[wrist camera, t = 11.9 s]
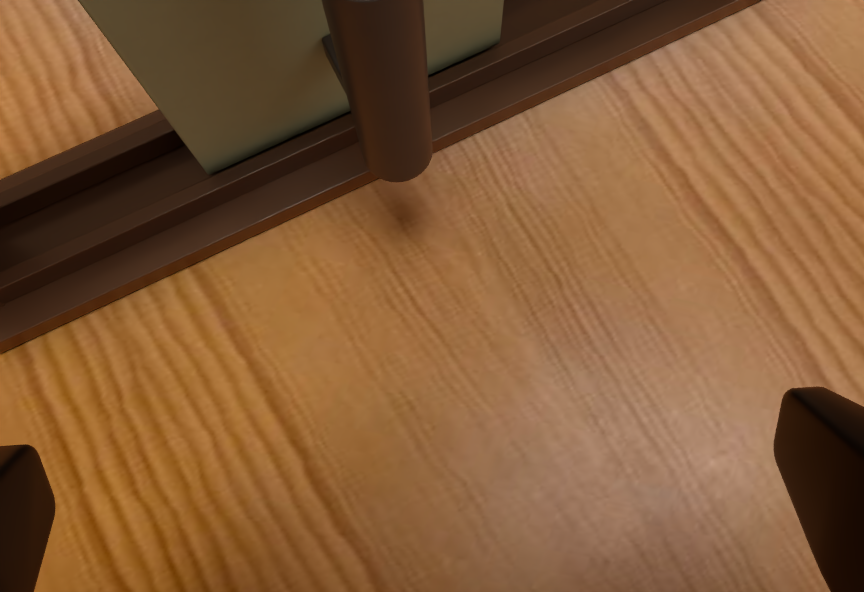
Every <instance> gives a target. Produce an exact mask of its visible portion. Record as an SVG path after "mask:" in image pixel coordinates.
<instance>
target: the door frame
mask: <svg viewBox="0 0 864 592" xmlns="http://www.w3.org/2000/svg"><path fill="white" fill-rule="evenodd" d="M759 1H761V0H504V3H503V14H502V24H501V35H500V43H499V44H497V45H495V46H492V47H490V48H488V49H486V50H484V51H481V52H479V53H477V54H475V55H473V56H470V57H468V58H466V59H464V60H462V61H459V62H457V63H455V64H453V65H451V66H448V67H446V68H444V69H442V70H440V71H437V72H435V73H433V74H431V75H429V76H428V82H429V98H430V114H431V130H432V146H433V151H432V153H434V152H436V151H438V150H440V149H442V148H444V147H446V146H449V145H451V144H453V143H455V142H457V141H459V140H462V139H464V138H466V137H468V136H470V135H472V134H474V133H477V132H479V131H481V130H483V129H485V128H487V127H490V126H492V125H494V124H496V123H498V122H500V121H502V120H505V119H507V118H509V117H511V116H513V115H515V114H518V113H520V112H522V111H524V110H526V109H528V108H530V107H533V106H535V105H537V104H539V103H541V102H543V101H546V100H548V99H550V98H552V97H554V96H556V95H558V94H561V93H563V92H565V91H567V90H569V89H571V88H574V87H576V86H578V85H580V84H582V83H584V82H586V81H589V80H591V79H593V78H595V77H597V76H599V75H602V74H604V73H606V72H608V71H610V70H612V69H614V68H617V67H619V66H621V65H623V64H625V63H627V62H630V61H632V60H634V59H636V58H638V57H640V56H642V55H645V54H647V53H649V52H651V51H653V50H655V49H658V48H660V47H662V46H664V45H666V44H668V43H670V42H673V41H675V40H677V39H679V38H681V37H683V36H686V35H688V34H690V33H692V32H694V31H696V30H698V29H701V28H703V27H705V26H707V25H709V24H711V23H714V22H716V21H718V20H720V19H722V18H724V17H726V16H729V15H731V14H733V13H735V12H737V11H739V10H742V9H744V8H746V7H748V6H750V5H752V4H754V3H757V2H759ZM375 179H378V177H377V176H375V175H374V174H373V173H372V172H371V171H370V170H369V169H368V168H367V166H366V164H365V162H364V159H363V156H362V152H361V148H360V144H359V141H358V137H357V133H356V129H355V125H354V122H353V118H352V114H351V111H349V112H347V113H345V114H343V115H340V116H338V117H336V118H334V119H332V120H329V121H327V122H325V123H323V124H321V125H318V126H316V127H314V128H312V129H310V130H307V131H305V132H303V133H301V134H299V135H296V136H294V137H292V138H290V139H288V140H285V141H283V142H281V143H279V144H277V145H274V146H272V147H270V148H268V149H266V150H263V151H261V152H259V153H257V154H255V155H252V156H250V157H248V158H246V159H244V160H241V161H239V162H237V163H235V164H233V165H230V166H228V167H226V168H224V169H222V170H219V171H217V172H215V173H213V174H211V175H208V174H207V173H206V171H205V170H204V169H203V167H202V166H201V165H200V163H199V162H198V161H197V159H196V158H195V157H194V155H193V154H192V153H191V151H190V150H189V149H188V147H187V146H186V145H185V143H184V142H183V140H182V139H181V138H180V136H179V135H178V134H177V132H176V131H175V130H174V128H173V127H172V126H171V124H170V123H169V122H168V120H167V119H166V118H165V116H164V115H163V114H162V112H161V111H160V110H157V111H154V112H152V113H150V114H148V115H145V116H143V117H141V118H139V119H136V120H134V121H132V122H130V123H127V124H125V125H123V126H121V127H118V128H116V129H114V130H112V131H109V132H107V133H105V134H103V135H100V136H98V137H96V138H94V139H91V140H89V141H87V142H85V143H82V144H80V145H78V146H75V147H73V148H71V149H69V150H66V151H64V152H62V153H60V154H57V155H55V156H53V157H51V158H48V159H46V160H44V161H42V162H39V163H37V164H35V165H33V166H30V167H28V168H26V169H24V170H21V171H19V172H17V173H15V174H12V175H10V176H8V177H6V178H3V179H1V180H0V354H1V353H3V352H5V351H7V350H9V349H11V348H13V347H16V346H18V345H20V344H22V343H24V342H26V341H29V340H31V339H33V338H35V337H37V336H39V335H41V334H44V333H46V332H48V331H50V330H52V329H54V328H57V327H59V326H61V325H63V324H65V323H67V322H69V321H72V320H74V319H76V318H78V317H80V316H82V315H85V314H87V313H89V312H91V311H93V310H95V309H97V308H100V307H102V306H104V305H106V304H108V303H110V302H113V301H115V300H117V299H119V298H121V297H123V296H125V295H128V294H130V293H132V292H134V291H136V290H138V289H141V288H143V287H145V286H147V285H149V284H151V283H153V282H156V281H158V280H160V279H162V278H164V277H166V276H169V275H171V274H173V273H175V272H177V271H179V270H181V269H184V268H186V267H188V266H190V265H192V264H194V263H197V262H199V261H201V260H203V259H205V258H207V257H210V256H212V255H214V254H216V253H218V252H220V251H222V250H225V249H227V248H229V247H231V246H233V245H235V244H238V243H240V242H242V241H244V240H246V239H248V238H250V237H253V236H255V235H257V234H259V233H261V232H263V231H266V230H268V229H270V228H272V227H274V226H276V225H278V224H281V223H283V222H285V221H287V220H289V219H291V218H294V217H296V216H298V215H300V214H302V213H304V212H306V211H309V210H311V209H313V208H315V207H317V206H319V205H322V204H324V203H326V202H328V201H330V200H332V199H334V198H337V197H339V196H341V195H343V194H345V193H347V192H350V191H352V190H354V189H356V188H358V187H360V186H362V185H365V184H367V183H369V182H371V181H373V180H375Z"/></svg>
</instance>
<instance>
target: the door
mask: <svg viewBox="0 0 864 592" xmlns="http://www.w3.org/2000/svg"><path fill="white" fill-rule="evenodd" d="M78 1H79V2H80V4H81V5H82V6H83V8H84V9H85V10H86V12H87V13H88V14H89V16H90V17H91V18H92V20H93V21H94V22H95V24H96V25H97V26H98V28H99V29H100V30H101V32H102V33H103V34H104V36H105V37H106V38H107V40H108V41H109V42H110V44H111V45H112V47H113V48H114V49H115V51H116V52H117V53H118V55H119V56H120V57H121V59H122V60H123V61H124V63H125V64H126V65H127V67H128V68H129V69H130V71H131V72H132V73H133V75H134V76H135V77H136V79H137V80H138V81H139V83H140V84H141V85H142V87H143V88H144V89H145V91H146V92H147V94H148V95H149V96H150V98H151V99H152V100H153V102H154V103H155V104H156V106H157V107H158V108H159V110H160V111H161V112H162V114H163V115H164V116H165V118H166V119H167V120H168V122H169V123H170V124H171V126H172V127H173V128H174V130H175V131H176V132H177V134H178V135H179V136H180V138H181V139H182V140H183V142H184V143H185V145H186V146H187V147H188V149H189V150H190V151H191V153H192V154H193V155H194V157H195V158H196V159H197V161H198V162H199V163H200V165H201V166H202V167H203V169H204V170H205V171H206V173H207V174H208V175H211V174H213V173H215V172H217V171H219V170H222V169H224V168H226V167H228V166H230V165H233V164H235V163H237V162H239V161H241V160H244V159H246V158H248V157H250V156H252V155H255V154H257V153H259V152H261V151H263V150H266V149H268V148H270V147H272V146H274V145H277V144H279V143H281V142H283V141H285V140H288V139H290V138H292V137H294V136H296V135H299V134H301V133H303V132H305V131H307V130H310V129H312V128H314V127H316V126H318V125H321V124H323V123H325V122H327V121H329V120H332V119H334V118H336V117H338V116H340V115H343V114H345V113H347V112H349V111H351V114H352V118H353V122H354V125H355V129H356V133H357V137H358V141H359V144H360V148H361V152H362V156H363V159H364V162H365V164H366V166H367V168H368V169H369V170H370V171H371V172H372V173H373V174H374V175H375V176H377V177H378V178H380V179H383V180H385V181H389V182H404V181H408V180H410V179H413V178H415V177H417V176H418V175H419V174H421V173H422V172H423V171H424V170H425V169H426V167H427V166H428V164H429V162H430V160H431V157H432V151H433V146H432V130H431V114H430V98H429V82H428V76H429V75H431V74H433V73H435V72H437V71H440V70H442V69H444V68H446V67H448V66H451V65H453V64H455V63H457V62H459V61H462V60H464V59H466V58H468V57H470V56H473V55H475V54H477V53H479V52H481V51H484V50H486V49H488V48H490V47H492V46H495V45H497V44H499V43H500V35H501V24H502V14H503V3H504V0H78Z"/></svg>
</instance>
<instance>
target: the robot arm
mask: <svg viewBox="0 0 864 592" xmlns="http://www.w3.org/2000/svg"><path fill="white" fill-rule="evenodd" d="M774 456H775V460H776V463H777V466H778V468H779V471H780V473H781V476H782V478H783V481H784V483H785V486H786V488H787V491H788V493H789V496H790V498H791V501H792V503H793V506H794V508H795V511H796V513H797V516H798V518H799V521H800V523H801V526H802V528H803V531H804V533H805V536H806V538H807V541H808V543H809V545H810V548H811V550H812V553H813V555H814V558H815V560H816V562H817V564H818V567H819V569H820V571H821V574H822V576H823V577H824V579H825V581H826V583H827V585H828V587H829V589H830V591H831V592H864V407H863V406H861V405H859V404H857V403H855V402H853V401H851V400H849V399H847V398H844V397H842V396H840V395H838V394H836V393H834V392H832V391H830V390H828V389H826V388H824V387H805V388H792V389H790V390H788V391H787V392H786V393H785V394H784V396H783V399H782V402H781V408H780V413H779V418H778V423H777V428H776V433H775V439H774ZM54 515H55V499H54V495H53V492H52V489H51V486H50V484H49V481H48V478H47V476H46V473H45V470H44V467H43V465H42V462H41V459H40V457H39V454H38V452H37V451H36V450H35V448H34V447H32V446H30V445H26V444H25V445H11V446H0V592H34V589H35V586H36V582H37V578H38V575H39V571H40V567H41V564H42V560H43V556H44V553H45V549H46V545H47V542H48V538H49V534H50V531H51V527H52V524H53V520H54Z"/></svg>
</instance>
